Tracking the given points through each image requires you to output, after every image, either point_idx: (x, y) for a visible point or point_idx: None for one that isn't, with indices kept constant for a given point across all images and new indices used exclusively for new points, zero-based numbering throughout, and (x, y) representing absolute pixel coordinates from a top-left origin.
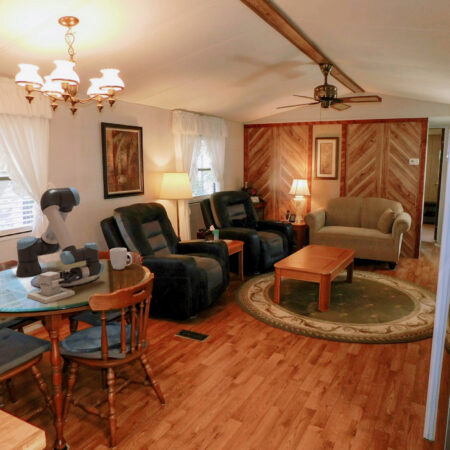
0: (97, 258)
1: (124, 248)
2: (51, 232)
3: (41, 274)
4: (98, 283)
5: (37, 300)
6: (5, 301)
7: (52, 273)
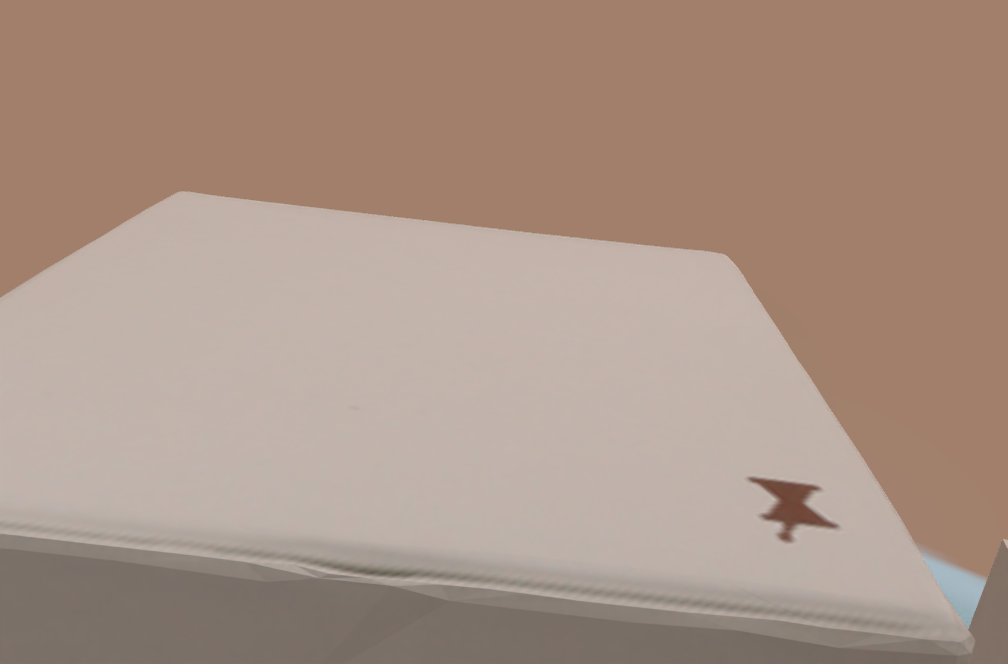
0: None
1: None
2: None
3: (658, 250)
4: None
5: None
6: (954, 574)
7: (236, 313)
